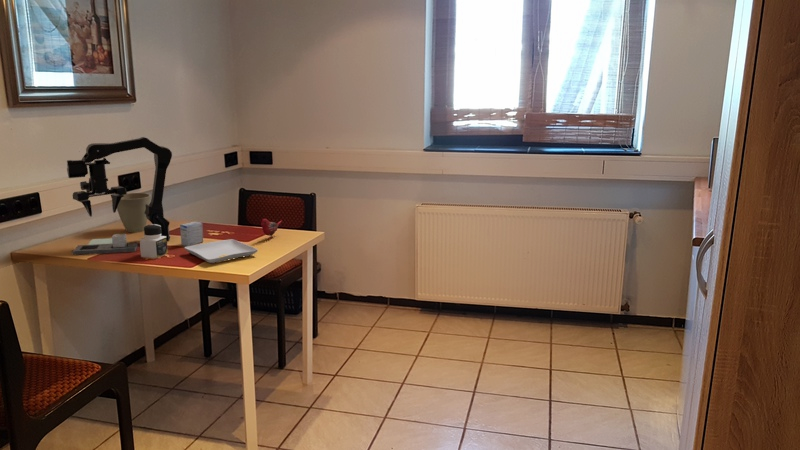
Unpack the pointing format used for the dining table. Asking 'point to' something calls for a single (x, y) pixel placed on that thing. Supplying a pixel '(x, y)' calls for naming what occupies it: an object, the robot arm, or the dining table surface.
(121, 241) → the steel peg
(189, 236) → the medicine box
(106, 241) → the sage mat
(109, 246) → the grey flat frame
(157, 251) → the medicine bottle
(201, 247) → the salad plate
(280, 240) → the dining table surface
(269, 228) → the decorative bird figurine
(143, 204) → the plant pot
